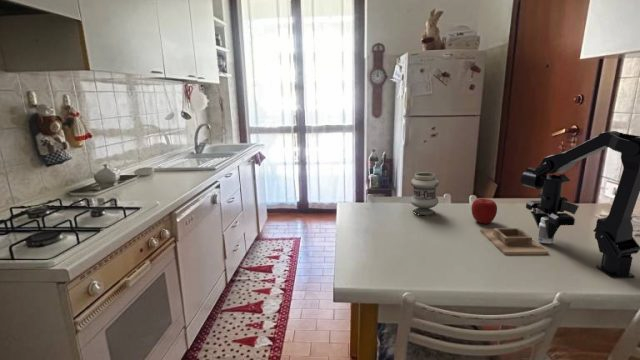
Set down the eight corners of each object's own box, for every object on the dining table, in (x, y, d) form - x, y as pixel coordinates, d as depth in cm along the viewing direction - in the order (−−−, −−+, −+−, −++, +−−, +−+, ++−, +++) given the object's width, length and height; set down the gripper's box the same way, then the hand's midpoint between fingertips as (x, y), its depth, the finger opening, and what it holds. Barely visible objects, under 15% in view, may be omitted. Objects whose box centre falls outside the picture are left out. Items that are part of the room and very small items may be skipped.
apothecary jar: (404, 210, 162) (405, 172, 157) (427, 207, 165) (429, 169, 161) (419, 218, 150) (421, 177, 146) (443, 215, 154) (445, 175, 150)
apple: (501, 224, 141) (503, 200, 139) (483, 228, 138) (485, 203, 136) (482, 217, 150) (484, 194, 147) (465, 220, 146) (466, 197, 144)
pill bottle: (555, 244, 120) (558, 221, 118) (540, 243, 121) (543, 220, 119) (549, 238, 124) (552, 216, 122) (535, 238, 125) (537, 215, 123)
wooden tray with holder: (547, 254, 114) (549, 244, 113) (503, 254, 115) (505, 244, 114) (517, 231, 134) (518, 222, 133) (480, 231, 134) (480, 223, 134)
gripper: (595, 200, 109) (588, 246, 113) (559, 185, 127) (553, 225, 131) (558, 200, 110) (552, 246, 113) (527, 185, 128) (523, 226, 131)
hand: (545, 235), depth 122 cm, fingers closed on pill bottle, 5 cm apart
